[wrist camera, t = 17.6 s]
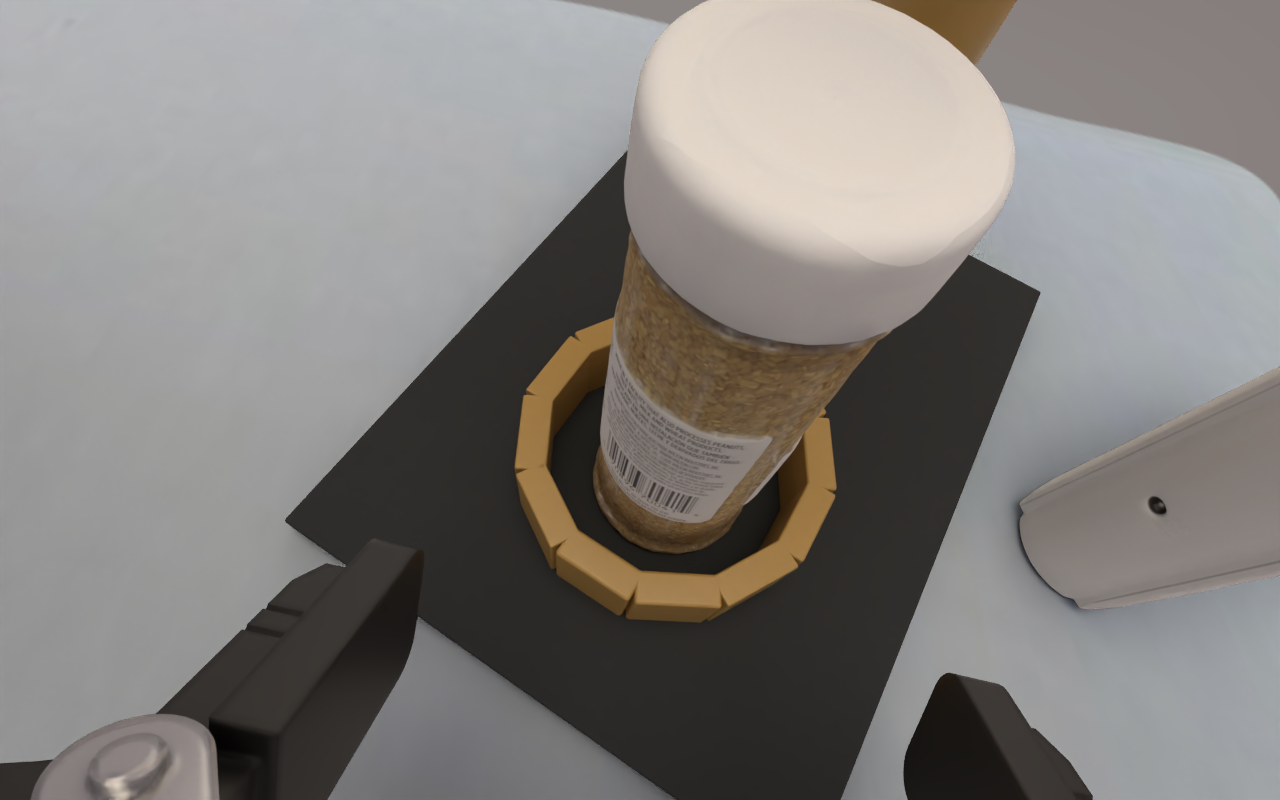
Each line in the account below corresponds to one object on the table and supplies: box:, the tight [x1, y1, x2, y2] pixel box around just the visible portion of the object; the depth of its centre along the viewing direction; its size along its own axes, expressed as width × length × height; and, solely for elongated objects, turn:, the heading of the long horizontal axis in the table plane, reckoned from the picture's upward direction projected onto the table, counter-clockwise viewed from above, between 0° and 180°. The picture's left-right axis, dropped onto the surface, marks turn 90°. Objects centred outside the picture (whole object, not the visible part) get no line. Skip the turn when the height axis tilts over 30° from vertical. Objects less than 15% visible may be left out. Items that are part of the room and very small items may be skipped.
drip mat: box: [285, 151, 1040, 800], centre depth 21 cm, size 16×21×1 cm
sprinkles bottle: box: [593, 0, 1015, 554], centre depth 13 cm, size 5×5×13 cm
